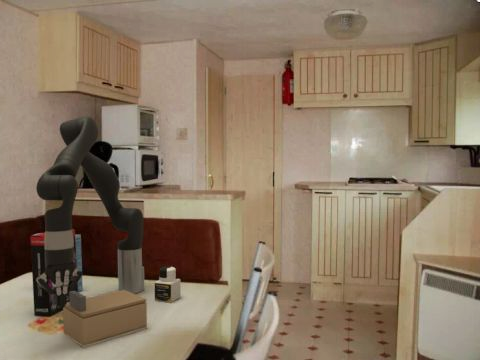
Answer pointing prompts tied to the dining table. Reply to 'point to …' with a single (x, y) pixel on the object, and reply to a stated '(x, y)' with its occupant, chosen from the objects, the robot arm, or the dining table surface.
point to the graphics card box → (42, 298)
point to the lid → (101, 302)
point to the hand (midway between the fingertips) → (60, 307)
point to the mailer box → (104, 324)
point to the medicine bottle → (167, 285)
